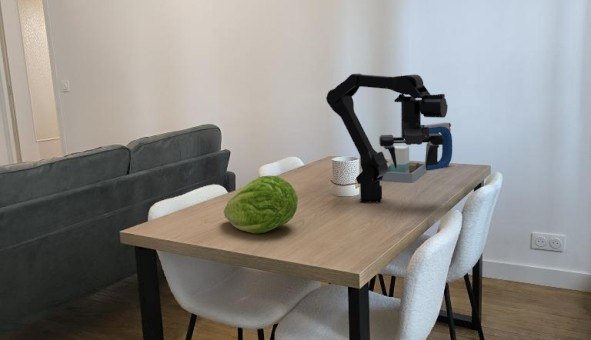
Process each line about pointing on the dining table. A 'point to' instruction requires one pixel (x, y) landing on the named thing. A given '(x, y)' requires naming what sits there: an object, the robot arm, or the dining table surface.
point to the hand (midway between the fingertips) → (410, 167)
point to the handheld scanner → (446, 148)
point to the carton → (401, 160)
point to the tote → (404, 175)
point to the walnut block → (413, 166)
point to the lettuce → (262, 205)
